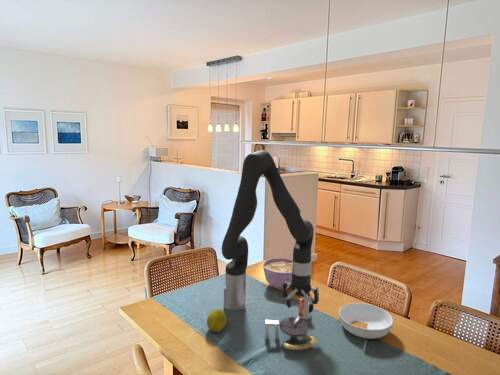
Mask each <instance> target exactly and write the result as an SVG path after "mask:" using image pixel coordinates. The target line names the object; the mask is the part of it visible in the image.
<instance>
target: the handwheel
mask: <svg viewBox="0 0 500 375" xmlns="http://www.w3.org/2000/svg"><path fill="white" fill-rule="evenodd" d="M297 308H298V310H297V312H298V316H297V317H295V316H294V317H293V316H290V317H284V318H283V319H281V320H280V322H279V331H280V332H282V333H283V334H285V335H287V336H289V341H290V342H294V343H296V342H298V340H299V339H304V340H305V341H308V342H306V343H305V342H304V343H301V344H300V343H299V344H297V343H296V344H294V343H293V344H292V343H288V342H284V343H283V344H282V347H283V348H284V349H289V350H307V349H309V348H312V347H313V346H315V344H317V343H318V338H317V337H315V336H312V335H308V334H307V333H308V332H309V330H310V329H309V328H310V325H309V322H307V321H306V319H302V318H301V317H304V299H303V298H302V297H301V298H298V307H297Z"/></svg>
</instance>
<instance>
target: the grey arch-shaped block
mask: <svg viewBox="0 0 500 375" xmlns="http://www.w3.org/2000/svg"><path fill="white" fill-rule="evenodd" d="M264 322H265V323H264V340H266V341H267V340H268V341H269V335H270V334H269V330H270V329H269V328H270V327H274V341H279V334H280V333H279V331H280V322H279V320H277V319H276V320H274V319H265V320H264Z"/></svg>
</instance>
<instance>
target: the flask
mask: <svg viewBox="0 0 500 375" xmlns="http://www.w3.org/2000/svg"><path fill="white" fill-rule="evenodd" d="M301 298H303V299H304V317H301V318H300V319H303V320H309V319H311V318H312V316H313V315H312V312H311V313H309V302H308V300H306V298H305V297H301ZM296 316H297V317H298V311H297V313H296Z"/></svg>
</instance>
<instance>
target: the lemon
mask: <svg viewBox="0 0 500 375" xmlns="http://www.w3.org/2000/svg"><path fill="white" fill-rule="evenodd" d="M206 325H207V327H208V329H209V330H210V331H212V332H213V333H219V332H221V331H223V330H224V329H225V326H226V325H227V316H226V314H225V312H224V311H223V310H221V309H218V308H217V309H213V310H211V311H210V313H208V315H207V318H206Z"/></svg>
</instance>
